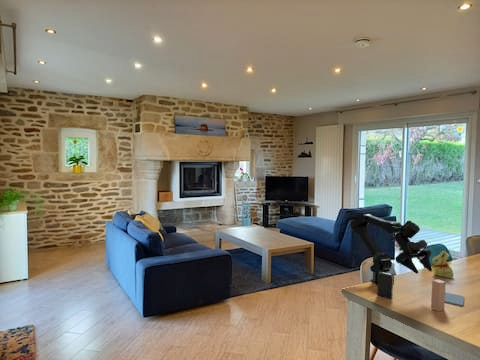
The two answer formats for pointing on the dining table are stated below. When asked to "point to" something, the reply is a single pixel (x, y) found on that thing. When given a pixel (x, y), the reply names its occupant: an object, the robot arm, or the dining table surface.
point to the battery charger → (385, 284)
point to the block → (438, 295)
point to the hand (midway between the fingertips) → (424, 272)
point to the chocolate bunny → (442, 265)
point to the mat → (454, 299)
